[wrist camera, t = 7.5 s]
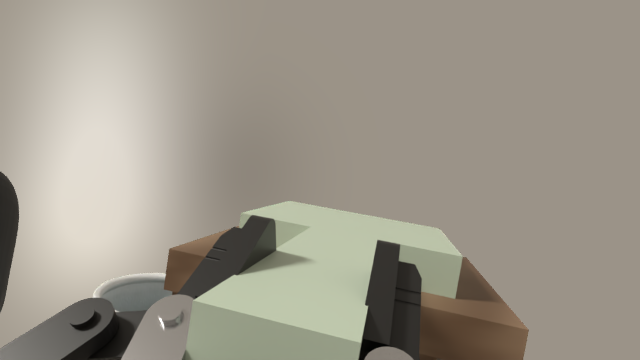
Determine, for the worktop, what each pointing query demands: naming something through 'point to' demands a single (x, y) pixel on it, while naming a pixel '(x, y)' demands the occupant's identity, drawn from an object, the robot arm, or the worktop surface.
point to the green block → (312, 286)
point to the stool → (436, 312)
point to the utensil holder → (133, 291)
